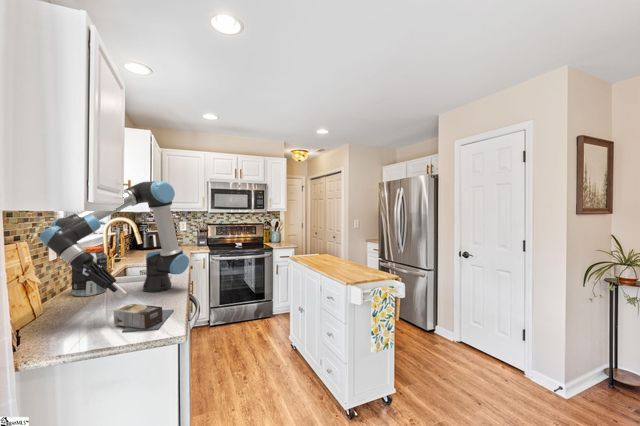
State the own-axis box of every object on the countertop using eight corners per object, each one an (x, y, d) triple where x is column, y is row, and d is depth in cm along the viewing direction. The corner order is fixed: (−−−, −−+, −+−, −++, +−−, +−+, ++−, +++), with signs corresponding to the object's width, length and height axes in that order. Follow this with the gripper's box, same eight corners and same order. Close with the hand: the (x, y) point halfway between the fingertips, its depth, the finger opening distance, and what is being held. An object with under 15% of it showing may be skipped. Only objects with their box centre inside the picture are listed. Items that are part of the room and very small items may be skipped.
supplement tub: (102, 295, 158) (102, 248, 158) (66, 298, 153) (66, 250, 152) (110, 288, 173) (110, 245, 173) (78, 290, 167) (78, 246, 167)
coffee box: (132, 302, 126) (163, 306, 123) (132, 317, 127) (163, 320, 123) (112, 310, 118) (145, 314, 114) (113, 325, 118) (145, 329, 114)
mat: (143, 312, 134) (143, 311, 134) (173, 310, 137) (173, 309, 137) (122, 332, 113) (122, 330, 113) (158, 329, 116) (158, 328, 116)
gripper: (80, 261, 125) (123, 297, 128) (60, 267, 112) (108, 307, 116) (94, 248, 126) (136, 284, 129) (75, 253, 113) (123, 293, 117)
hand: (123, 295), depth 122 cm, fingers closed
